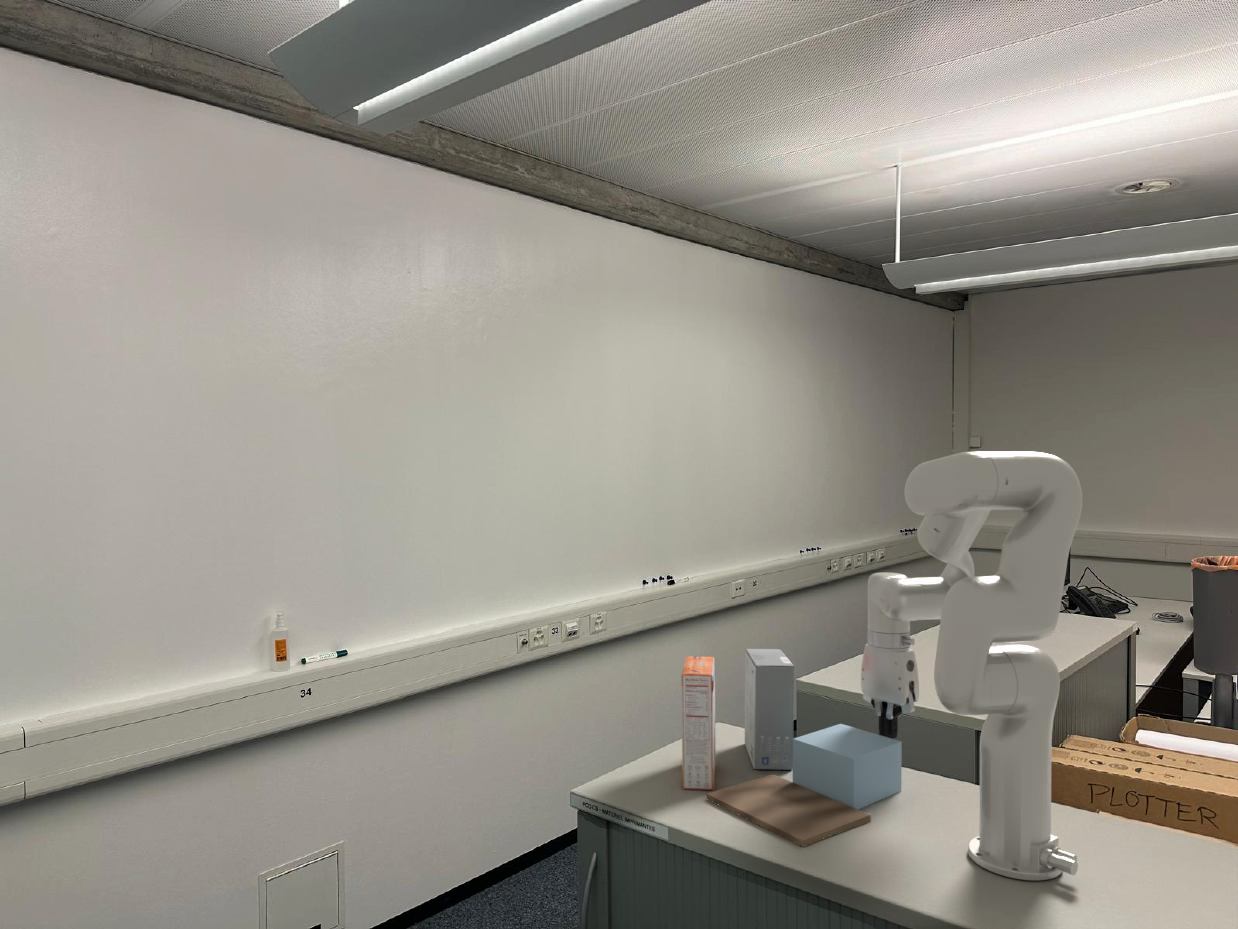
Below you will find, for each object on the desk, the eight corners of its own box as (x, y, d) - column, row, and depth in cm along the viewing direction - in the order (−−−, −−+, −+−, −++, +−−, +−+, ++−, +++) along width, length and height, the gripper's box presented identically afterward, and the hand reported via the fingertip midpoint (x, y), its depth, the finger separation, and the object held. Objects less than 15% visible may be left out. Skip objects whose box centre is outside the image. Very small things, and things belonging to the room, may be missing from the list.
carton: (901, 792, 151) (901, 741, 151) (853, 812, 142) (853, 759, 142) (840, 771, 161) (840, 723, 161) (792, 788, 152) (792, 738, 152)
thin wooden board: (870, 821, 138) (870, 815, 138) (803, 847, 129) (803, 840, 129) (772, 779, 156) (772, 774, 156) (706, 799, 147) (706, 793, 146)
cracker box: (684, 762, 165) (685, 654, 165) (716, 763, 164) (716, 655, 164) (680, 790, 151) (680, 672, 151) (714, 792, 150) (714, 674, 150)
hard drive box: (794, 771, 160) (794, 666, 160) (753, 771, 160) (754, 665, 160) (780, 743, 175) (780, 647, 175) (743, 743, 176) (743, 647, 176)
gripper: (936, 644, 154) (935, 745, 154) (868, 630, 166) (868, 724, 166) (910, 649, 150) (910, 753, 150) (843, 635, 162) (842, 731, 162)
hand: (888, 737), depth 158 cm, fingers closed
